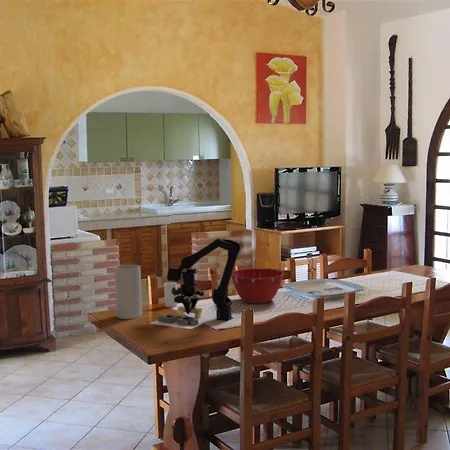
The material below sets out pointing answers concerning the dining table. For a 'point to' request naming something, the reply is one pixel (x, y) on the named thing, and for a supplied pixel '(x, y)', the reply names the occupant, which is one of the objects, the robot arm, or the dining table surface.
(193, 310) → the master link
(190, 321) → the chain ends
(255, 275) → the mixing bowl
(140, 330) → the dining table surface
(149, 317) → the dining table surface
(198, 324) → the mat
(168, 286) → the mug
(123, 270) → the cylinder vase
